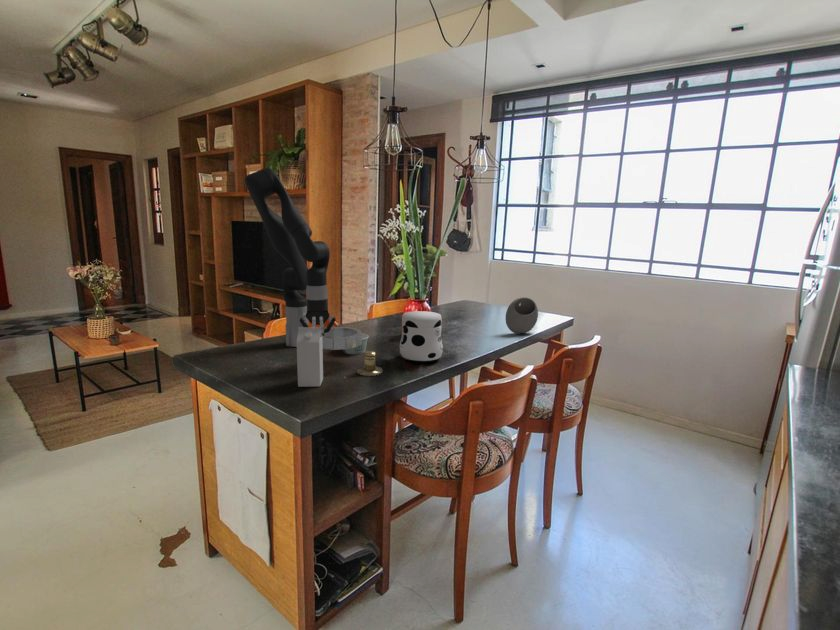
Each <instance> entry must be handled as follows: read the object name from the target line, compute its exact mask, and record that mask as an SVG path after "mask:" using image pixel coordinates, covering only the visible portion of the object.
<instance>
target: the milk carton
mask: <svg viewBox="0 0 840 630" xmlns="http://www.w3.org/2000/svg"><path fill="white" fill-rule="evenodd" d="M323 350H324V349H323V343H322V333H321V327H320V326H319V327H318V326H316V327H312V326H311V327H310V326H309V327H298V336H297V347H296V362H297V363H296V365H297V371H296V372H297V387H298V388H299V387H307V388H308V387H309V388H310V387H312V388H313V387H321V384H322V382H323V380H324V362H323V361H324V359H323V358H324V356H323V355H324V352H323Z"/></svg>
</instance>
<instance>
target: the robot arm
mask: <svg viewBox="0 0 840 630" xmlns="http://www.w3.org/2000/svg"><path fill="white" fill-rule="evenodd" d="M244 184H245V187H246V189H247V192H248V194H249V195H250V197H251V199H252V201H253V204H254V205H255V207H256V210H257V211H258V214H259V216H260V218H261V221H262V223H263V226H264V228H265V230H266V233H267V236H268V238H269V241H270V243H271V247H273V249H274V250H275V251H276V253H278V254H279V255H280V256H281V257H282V258H283V259H284V260H286V262H288V264H289V265H290V267H288V268H285V269H284V270H283V273H282V277H281V278H282V279H281V280H282V281H281V282H282V293H283V300H284V302H285V322H286V323H285V345H286V346H285V347H292V348H293V347H294V348H297V336H298V327H310V325H309V324H311V325H312V326H311V327H317V325H319V327H321V333H322V335H323V336H324V334H325V333H326V332H329V331H330V329H331V327H333V325H334V324H335V322H336V319H337V318H336V317H335V316H332V315H330V312H329V294H328V285H327V272H328V268H329V263H330V258H331V256H330V255H331V252H330V248H329V245H328V244H327V243H326V242H325V241H323V240H322V241H321V240H317V241H313V240H312V238H311V237H312V234H313V230H312V229H311V227H310V225H309V224H308V223H307V222H306V220H305V219H304V218H303V216H302V215H301V213H300V212H299V211H298V209H297V208H296V206H295V204H294V202H293V200H292V199H291V196H290V194H289V193H288V191H287V190H286V187H285V186H284V184H283V182H282V181H281V179H280V177H279V176H278V174H277V173H276V172H275V171H274V169H272V168H270V167H265V168H261V169H260V170H259V169H258V170H257V171H255V172H253V173H252V172H251V173H249V174H248V175H247V174H246V176H245V177H244ZM273 195H277V197H278V198H279V200H280V206H281V216H280V215H279V214H278V213H276V212H274V211H273V210H272V209H271V208H270V207H269V206H268V204H267V203H266V200H265V199H266V198H268V197H271V196H273ZM305 261H307V262H309V263H312V264H311V267H310V268H309V267H308V266H307V263H306V262H305ZM299 291H305V296H303V295H301V294H300V292H299ZM327 321H329V323H328V324H327V326H326V328H325V324H326V322H327Z"/></svg>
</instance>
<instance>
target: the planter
mask: <svg viewBox="0 0 840 630" xmlns="http://www.w3.org/2000/svg"><path fill="white" fill-rule="evenodd" d="M538 318H539V310H538V306H537V303H536V302H535V301H534V299H532V298H529V297H525V296H524V297H523V296H522V297H517V298H516V299H514V300H513V301H511V303H510V304H509V306H508V307H507V309H506V312H505V324H506V327H507V329H508V330H509V331H510V332H512V333H513V334H516V333H518V334H517V335H521V334H520V333H524V334H526V333H529V332H530V331H532V329H533V328H534V327H535V325H536V324H537V321H538Z"/></svg>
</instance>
